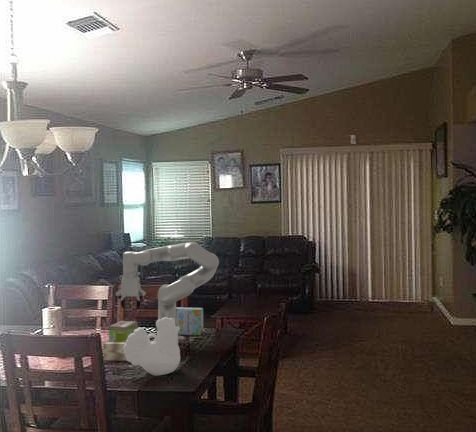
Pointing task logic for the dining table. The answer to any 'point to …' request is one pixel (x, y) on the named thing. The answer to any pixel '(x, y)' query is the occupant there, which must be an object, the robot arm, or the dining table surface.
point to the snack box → (189, 320)
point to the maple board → (114, 351)
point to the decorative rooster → (155, 348)
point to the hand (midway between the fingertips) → (130, 307)
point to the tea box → (121, 330)
